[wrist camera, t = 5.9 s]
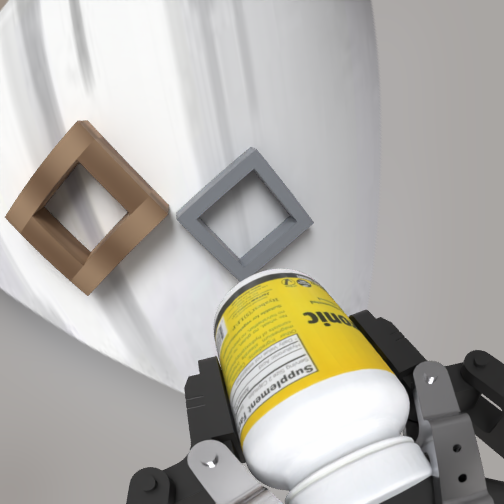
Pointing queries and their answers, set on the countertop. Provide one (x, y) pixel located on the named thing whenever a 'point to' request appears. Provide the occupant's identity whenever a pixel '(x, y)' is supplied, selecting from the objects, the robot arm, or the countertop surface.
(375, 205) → the countertop surface
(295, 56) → the countertop surface
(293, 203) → the holder
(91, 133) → the socket block
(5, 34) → the countertop surface
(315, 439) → the supplement bottle
